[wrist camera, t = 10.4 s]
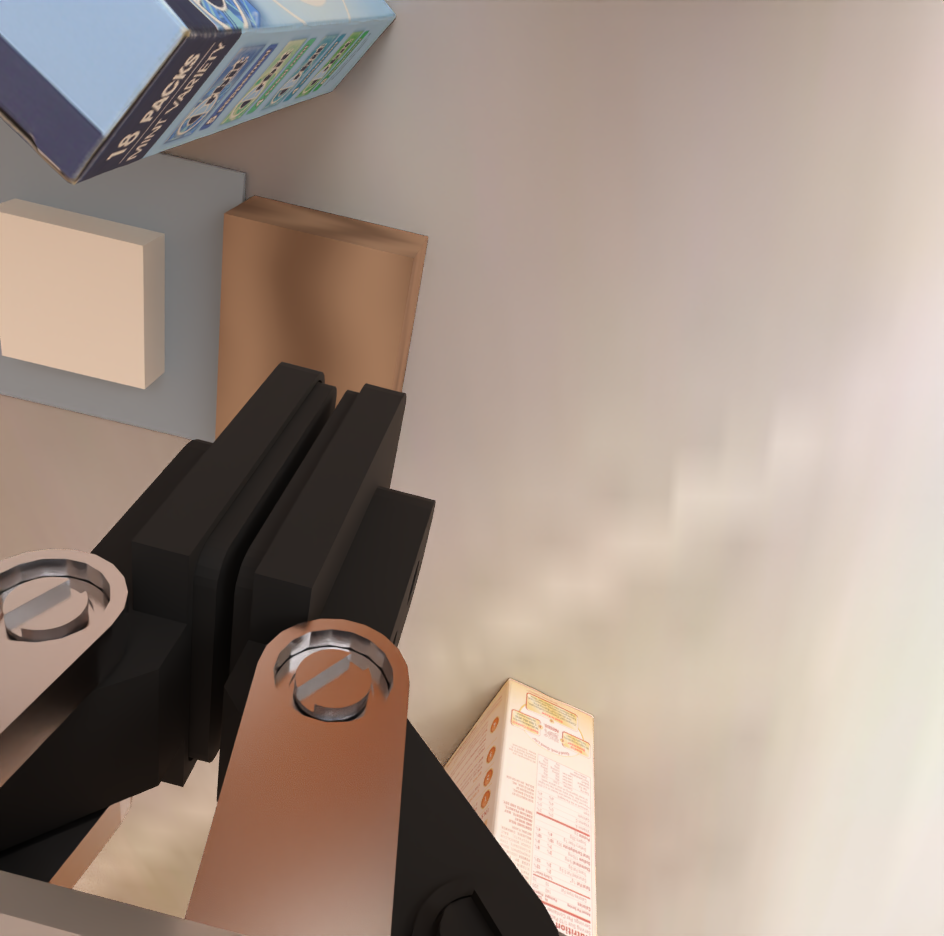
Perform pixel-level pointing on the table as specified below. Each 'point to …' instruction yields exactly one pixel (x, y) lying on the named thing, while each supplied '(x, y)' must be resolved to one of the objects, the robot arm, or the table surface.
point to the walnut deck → (313, 300)
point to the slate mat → (186, 283)
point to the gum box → (166, 70)
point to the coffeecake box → (537, 796)
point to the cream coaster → (82, 293)
